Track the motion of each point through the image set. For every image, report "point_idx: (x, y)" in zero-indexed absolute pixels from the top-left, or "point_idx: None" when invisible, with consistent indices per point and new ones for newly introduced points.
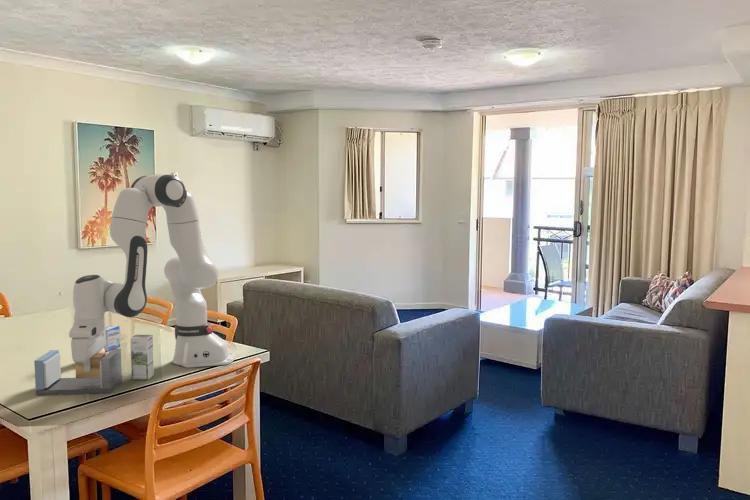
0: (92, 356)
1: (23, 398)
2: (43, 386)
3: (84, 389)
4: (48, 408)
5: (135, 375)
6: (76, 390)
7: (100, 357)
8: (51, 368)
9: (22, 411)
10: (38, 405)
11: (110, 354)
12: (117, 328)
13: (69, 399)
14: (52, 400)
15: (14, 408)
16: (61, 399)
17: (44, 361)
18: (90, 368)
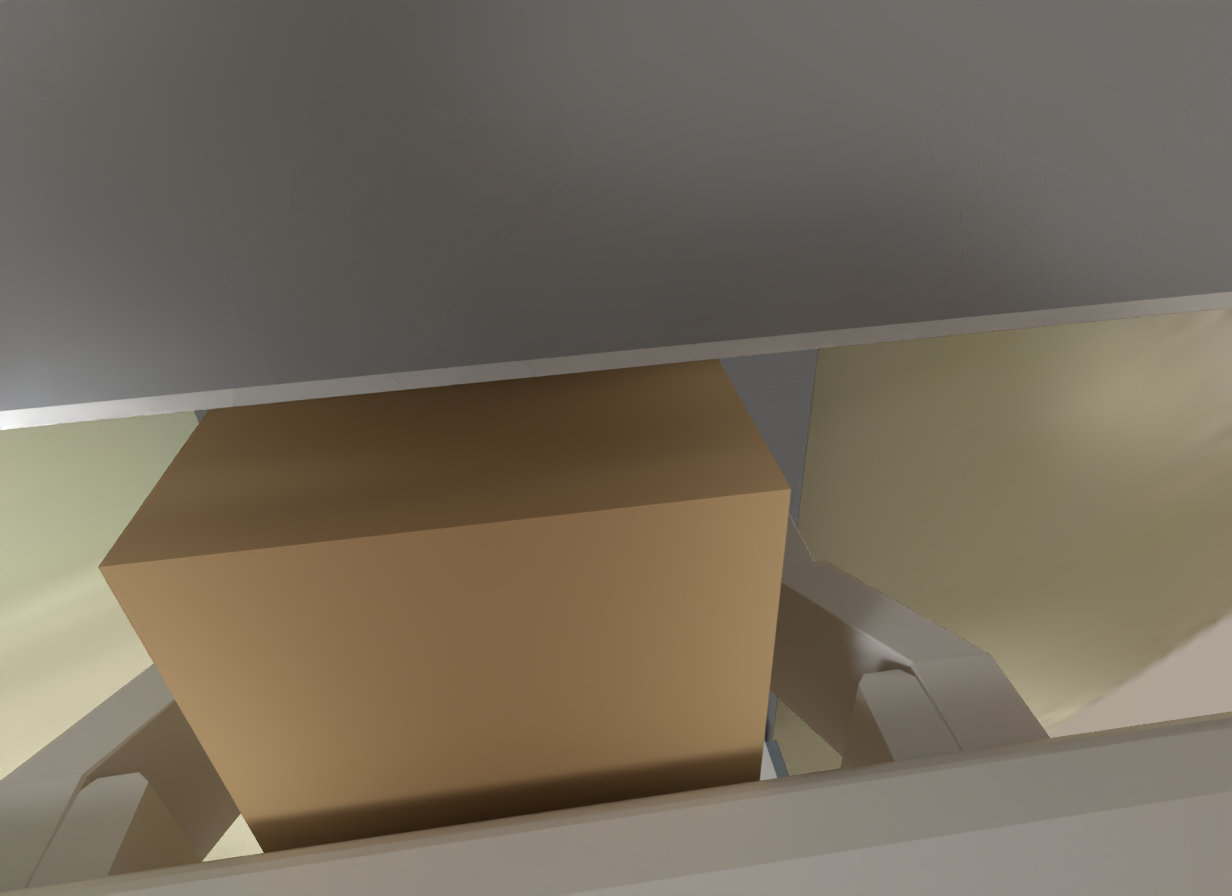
0: (738, 772)
1: (818, 771)
2: (785, 771)
3: (815, 361)
4: (1185, 488)
5: None
6: (801, 451)
7: (779, 500)
8: None
9: (1161, 638)
10: (1051, 602)
11: (566, 68)
12: None
13: (964, 418)
14: (942, 560)
15: (1055, 715)
16: (937, 497)
17: None
18: None
